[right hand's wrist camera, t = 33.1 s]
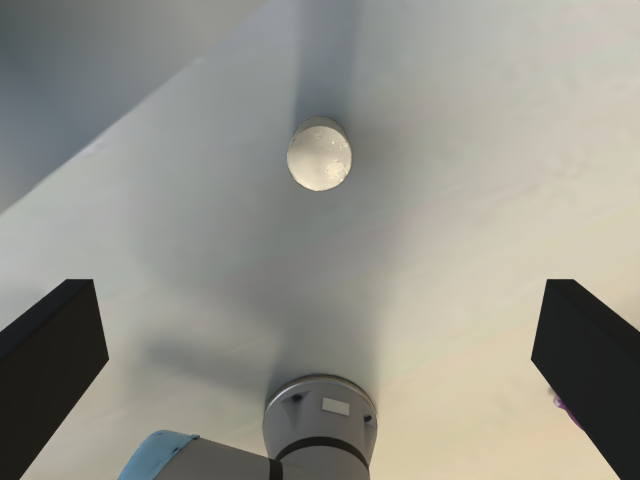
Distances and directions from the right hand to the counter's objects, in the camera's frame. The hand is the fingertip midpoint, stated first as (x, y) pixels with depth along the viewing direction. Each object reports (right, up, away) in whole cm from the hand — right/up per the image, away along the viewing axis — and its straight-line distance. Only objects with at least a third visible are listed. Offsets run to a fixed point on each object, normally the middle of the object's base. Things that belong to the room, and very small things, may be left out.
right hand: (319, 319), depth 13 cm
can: (0, +13, +34) cm, 36 cm away
